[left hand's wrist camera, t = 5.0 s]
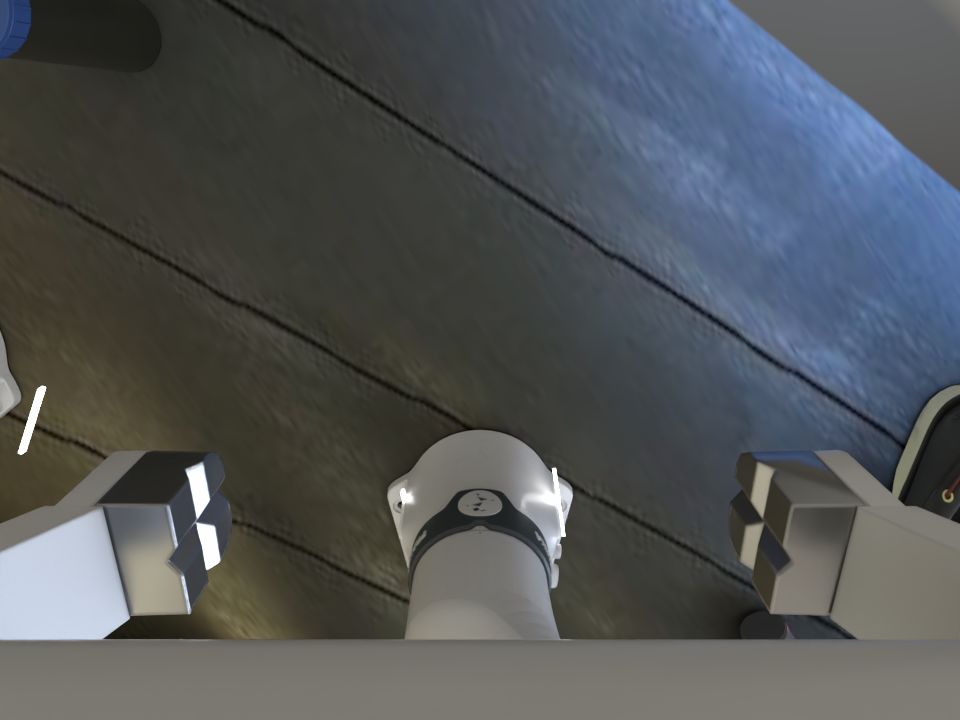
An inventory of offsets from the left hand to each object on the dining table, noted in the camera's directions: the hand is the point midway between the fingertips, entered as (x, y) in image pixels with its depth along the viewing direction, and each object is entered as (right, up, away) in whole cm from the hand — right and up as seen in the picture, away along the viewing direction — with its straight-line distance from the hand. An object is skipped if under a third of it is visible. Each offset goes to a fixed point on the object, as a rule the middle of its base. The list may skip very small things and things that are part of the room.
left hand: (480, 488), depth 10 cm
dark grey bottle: (-28, +28, +41) cm, 57 cm away
